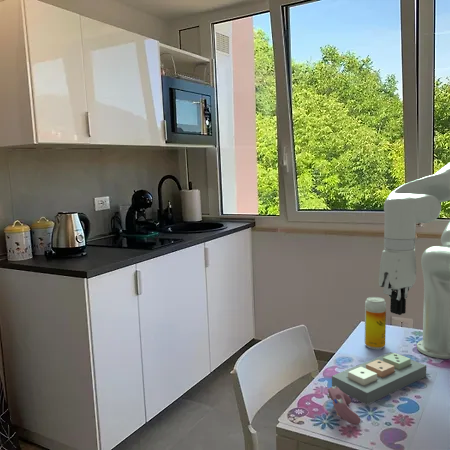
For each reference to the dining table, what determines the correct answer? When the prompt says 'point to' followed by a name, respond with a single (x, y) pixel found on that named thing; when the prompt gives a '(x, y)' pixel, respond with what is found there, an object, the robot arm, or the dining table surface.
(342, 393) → the video game controller
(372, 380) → the button one
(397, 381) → the panel
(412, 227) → the robot arm
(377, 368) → the button two
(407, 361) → the button three
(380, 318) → the beer can
